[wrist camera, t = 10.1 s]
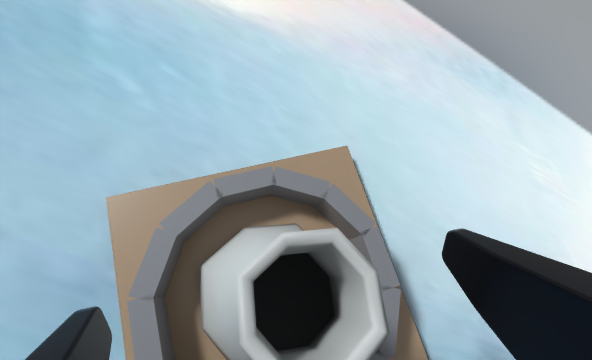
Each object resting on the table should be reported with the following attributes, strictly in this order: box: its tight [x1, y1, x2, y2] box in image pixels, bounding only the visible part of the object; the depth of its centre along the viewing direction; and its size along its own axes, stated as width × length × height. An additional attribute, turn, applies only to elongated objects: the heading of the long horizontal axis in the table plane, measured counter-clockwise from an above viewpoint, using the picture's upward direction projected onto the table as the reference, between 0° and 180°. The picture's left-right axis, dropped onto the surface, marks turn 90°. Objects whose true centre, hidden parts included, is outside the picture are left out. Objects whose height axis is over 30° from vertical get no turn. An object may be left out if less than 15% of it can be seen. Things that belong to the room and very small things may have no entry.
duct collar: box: [106, 146, 428, 360], centre depth 15 cm, size 14×14×3 cm
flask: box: [200, 223, 390, 360], centre depth 11 cm, size 7×7×10 cm
